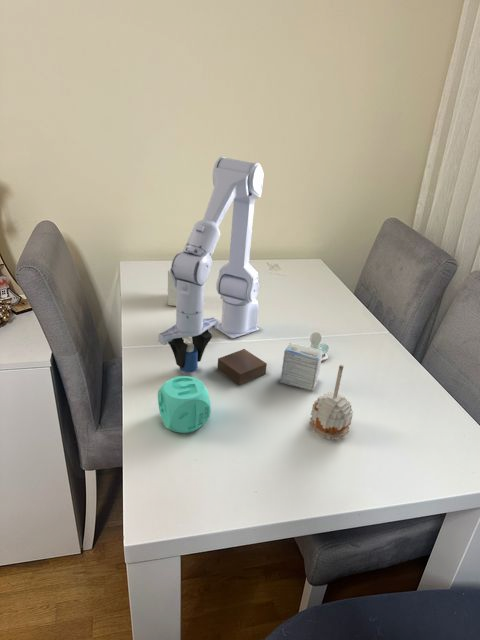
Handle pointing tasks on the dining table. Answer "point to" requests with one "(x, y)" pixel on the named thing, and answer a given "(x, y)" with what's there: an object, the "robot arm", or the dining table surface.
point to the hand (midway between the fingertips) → (188, 362)
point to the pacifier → (315, 342)
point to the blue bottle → (190, 359)
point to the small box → (171, 290)
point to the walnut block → (241, 366)
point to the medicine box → (301, 366)
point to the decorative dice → (184, 404)
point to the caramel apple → (331, 413)
